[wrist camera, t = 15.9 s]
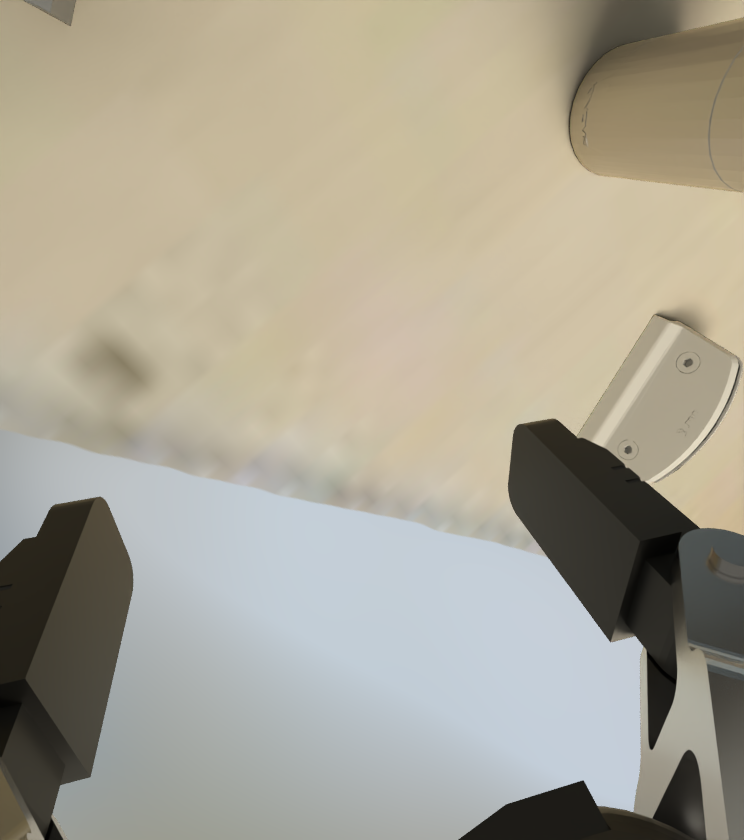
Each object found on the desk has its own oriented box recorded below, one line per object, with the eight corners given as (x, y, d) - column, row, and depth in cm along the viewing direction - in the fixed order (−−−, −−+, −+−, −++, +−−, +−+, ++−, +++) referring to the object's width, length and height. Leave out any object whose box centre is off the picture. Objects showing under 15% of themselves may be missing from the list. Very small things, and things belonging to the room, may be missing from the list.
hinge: (656, 311, 51) (757, 354, 45) (674, 319, 54) (772, 361, 48) (569, 447, 58) (647, 503, 51) (590, 447, 61) (666, 501, 54)
